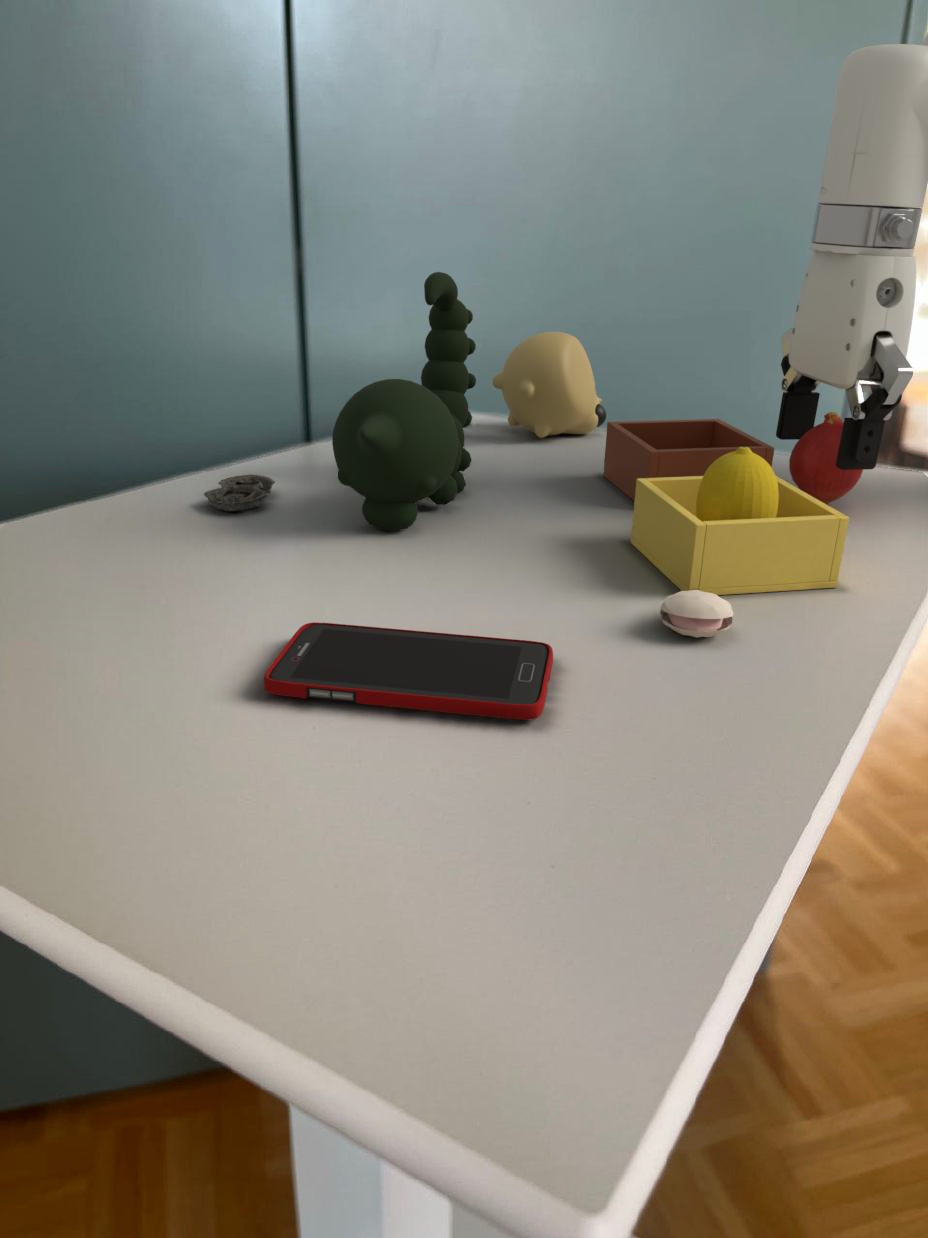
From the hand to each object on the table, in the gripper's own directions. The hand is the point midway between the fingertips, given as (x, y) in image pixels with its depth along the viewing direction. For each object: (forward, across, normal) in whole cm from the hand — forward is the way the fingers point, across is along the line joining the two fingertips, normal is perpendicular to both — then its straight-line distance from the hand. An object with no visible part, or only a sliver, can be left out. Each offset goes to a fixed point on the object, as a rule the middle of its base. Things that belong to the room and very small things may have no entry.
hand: (822, 452), depth 83 cm
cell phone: (+5, -26, +38) cm, 47 cm away
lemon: (+4, -12, +13) cm, 18 cm away
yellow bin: (+5, -12, +13) cm, 19 cm away
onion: (+5, 0, -1) cm, 5 cm away
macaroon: (+5, -22, +20) cm, 30 cm away
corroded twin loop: (+6, +8, +47) cm, 48 cm away
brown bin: (+5, +6, +9) cm, 12 cm away
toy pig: (+5, +28, +15) cm, 32 cm away
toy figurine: (+6, +5, +33) cm, 34 cm away
